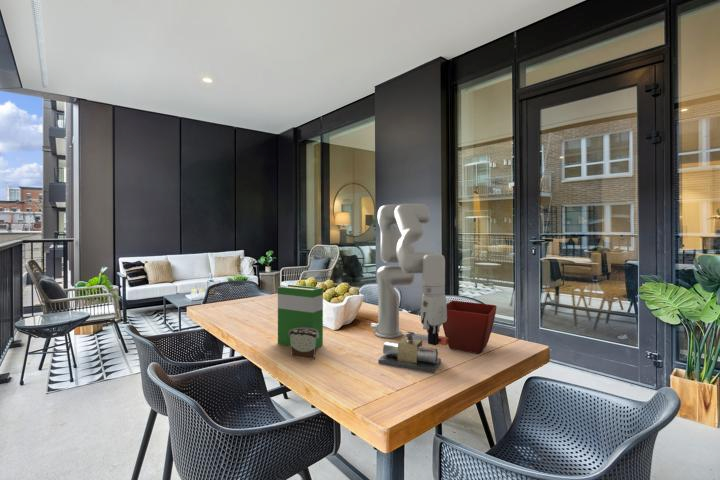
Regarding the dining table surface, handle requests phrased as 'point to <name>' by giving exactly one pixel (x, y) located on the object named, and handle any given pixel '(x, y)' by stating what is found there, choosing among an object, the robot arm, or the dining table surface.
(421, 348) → the valve body
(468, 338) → the plant pot
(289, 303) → the green cereal box
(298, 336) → the food container
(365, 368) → the dining table surface
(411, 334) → the valve lever
